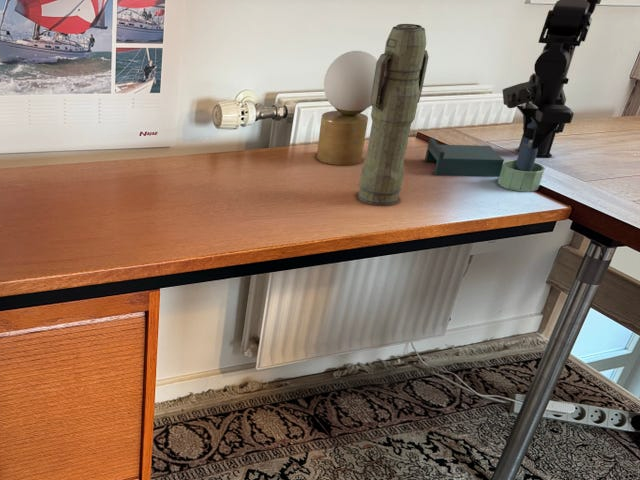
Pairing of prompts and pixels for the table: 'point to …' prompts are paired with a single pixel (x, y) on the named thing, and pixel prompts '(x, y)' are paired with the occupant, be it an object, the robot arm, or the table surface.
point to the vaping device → (527, 151)
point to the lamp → (346, 108)
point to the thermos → (393, 113)
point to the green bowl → (520, 177)
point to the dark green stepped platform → (464, 159)
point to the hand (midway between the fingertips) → (530, 144)
